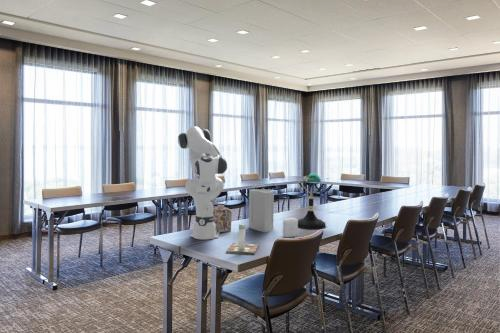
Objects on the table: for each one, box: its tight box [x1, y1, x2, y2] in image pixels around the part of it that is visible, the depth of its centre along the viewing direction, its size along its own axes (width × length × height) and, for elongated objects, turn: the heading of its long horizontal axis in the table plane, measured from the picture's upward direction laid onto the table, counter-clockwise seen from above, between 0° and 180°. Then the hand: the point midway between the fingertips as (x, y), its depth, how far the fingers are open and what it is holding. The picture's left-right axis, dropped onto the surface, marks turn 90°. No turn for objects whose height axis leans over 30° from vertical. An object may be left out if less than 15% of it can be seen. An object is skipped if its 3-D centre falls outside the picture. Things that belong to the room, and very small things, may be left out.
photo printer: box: [282, 217, 299, 238], centre depth 258 cm, size 10×4×12 cm, turn 113°
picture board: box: [225, 242, 260, 256], centre depth 224 cm, size 18×16×1 cm
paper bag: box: [248, 188, 275, 233], centre depth 281 cm, size 19×15×28 cm
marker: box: [238, 223, 246, 250], centre depth 220 cm, size 4×4×14 cm
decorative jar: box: [213, 204, 233, 233], centre depth 272 cm, size 12×12×18 cm
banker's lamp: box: [297, 172, 327, 230], centre depth 292 cm, size 26×23×40 cm
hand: (210, 207), depth 222 cm, fingers open, 8 cm apart
